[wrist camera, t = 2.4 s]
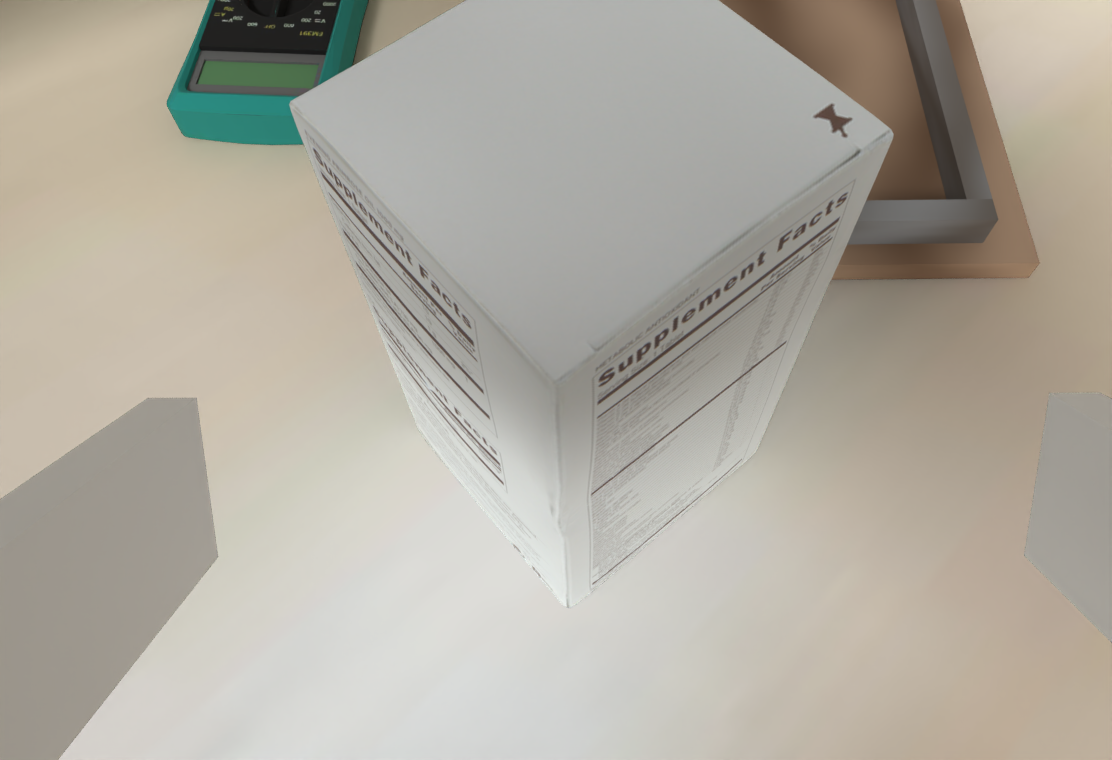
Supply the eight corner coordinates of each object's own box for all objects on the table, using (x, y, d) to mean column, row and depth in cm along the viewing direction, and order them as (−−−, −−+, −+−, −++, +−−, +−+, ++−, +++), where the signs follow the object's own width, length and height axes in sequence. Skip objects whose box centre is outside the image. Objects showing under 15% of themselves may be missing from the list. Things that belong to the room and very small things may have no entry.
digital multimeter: (391, -59, 48) (380, -112, 45) (340, 155, 41) (323, 107, 38) (256, -62, 48) (237, -115, 45) (182, 149, 41) (155, 102, 38)
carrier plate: (533, 282, 37) (530, 246, 34) (538, -16, 45) (536, -61, 43) (1028, 277, 36) (1057, 239, 34) (939, -23, 45) (958, -69, 42)
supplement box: (600, 291, 36) (615, -101, 21) (764, 451, 33) (918, 118, 18) (406, 429, 34) (271, 92, 19) (564, 619, 30) (550, 391, 15)
